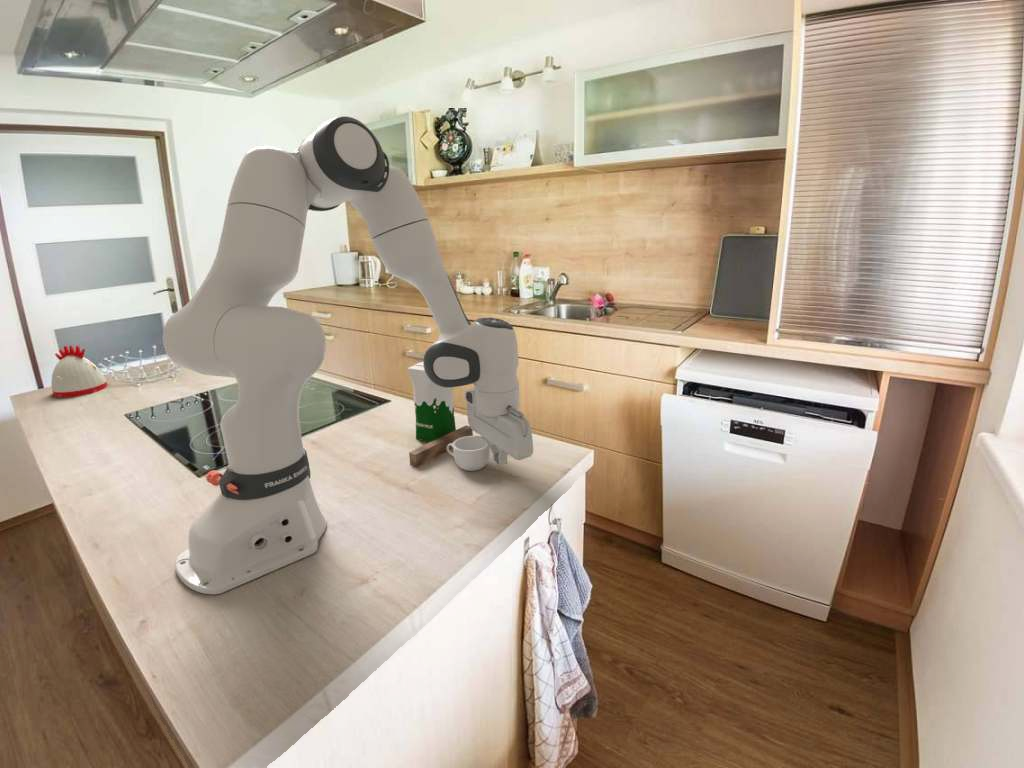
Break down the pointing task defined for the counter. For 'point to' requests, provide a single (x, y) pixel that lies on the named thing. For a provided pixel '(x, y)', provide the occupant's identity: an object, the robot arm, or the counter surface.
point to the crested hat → (75, 374)
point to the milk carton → (431, 406)
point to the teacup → (470, 452)
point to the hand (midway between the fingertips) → (500, 462)
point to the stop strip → (437, 446)
